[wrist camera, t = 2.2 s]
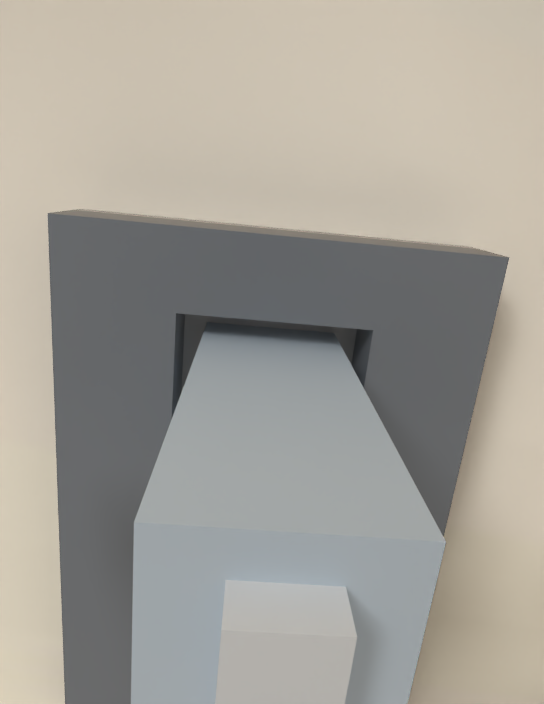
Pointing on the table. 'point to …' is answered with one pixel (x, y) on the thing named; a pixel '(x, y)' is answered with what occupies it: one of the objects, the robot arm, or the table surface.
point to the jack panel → (178, 354)
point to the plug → (279, 535)
